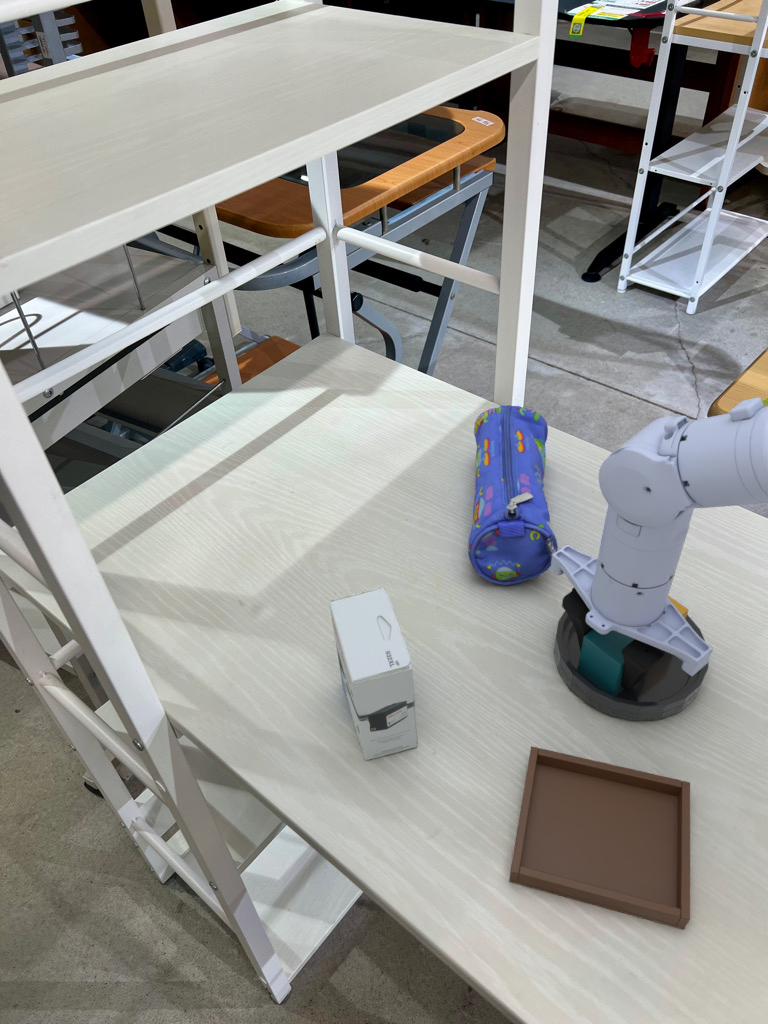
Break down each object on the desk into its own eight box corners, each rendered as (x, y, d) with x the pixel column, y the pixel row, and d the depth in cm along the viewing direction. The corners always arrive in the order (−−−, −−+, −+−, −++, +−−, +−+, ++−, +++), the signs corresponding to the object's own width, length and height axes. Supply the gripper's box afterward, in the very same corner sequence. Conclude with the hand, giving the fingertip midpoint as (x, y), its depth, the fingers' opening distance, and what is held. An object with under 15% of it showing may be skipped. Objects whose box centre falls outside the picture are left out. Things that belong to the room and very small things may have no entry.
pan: (701, 618, 71) (707, 601, 69) (702, 737, 62) (710, 721, 60) (562, 594, 74) (565, 577, 73) (545, 704, 65) (548, 688, 64)
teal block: (641, 674, 66) (652, 640, 63) (611, 699, 65) (620, 665, 61) (606, 646, 69) (614, 612, 66) (576, 670, 67) (583, 636, 64)
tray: (684, 793, 59) (690, 782, 58) (684, 929, 52) (690, 920, 50) (529, 757, 62) (531, 745, 61) (509, 881, 55) (510, 871, 53)
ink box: (340, 680, 68) (326, 597, 60) (392, 667, 69) (384, 583, 61) (363, 763, 62) (350, 683, 54) (419, 747, 63) (415, 666, 55)
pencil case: (553, 597, 74) (563, 528, 68) (466, 593, 75) (468, 525, 69) (544, 457, 90) (551, 390, 83) (472, 455, 91) (474, 389, 85)
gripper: (530, 534, 60) (519, 638, 69) (685, 647, 51) (648, 749, 60) (590, 495, 63) (572, 600, 72) (746, 596, 54) (702, 700, 63)
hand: (610, 665), depth 66 cm, fingers closed on teal block, 4 cm apart
